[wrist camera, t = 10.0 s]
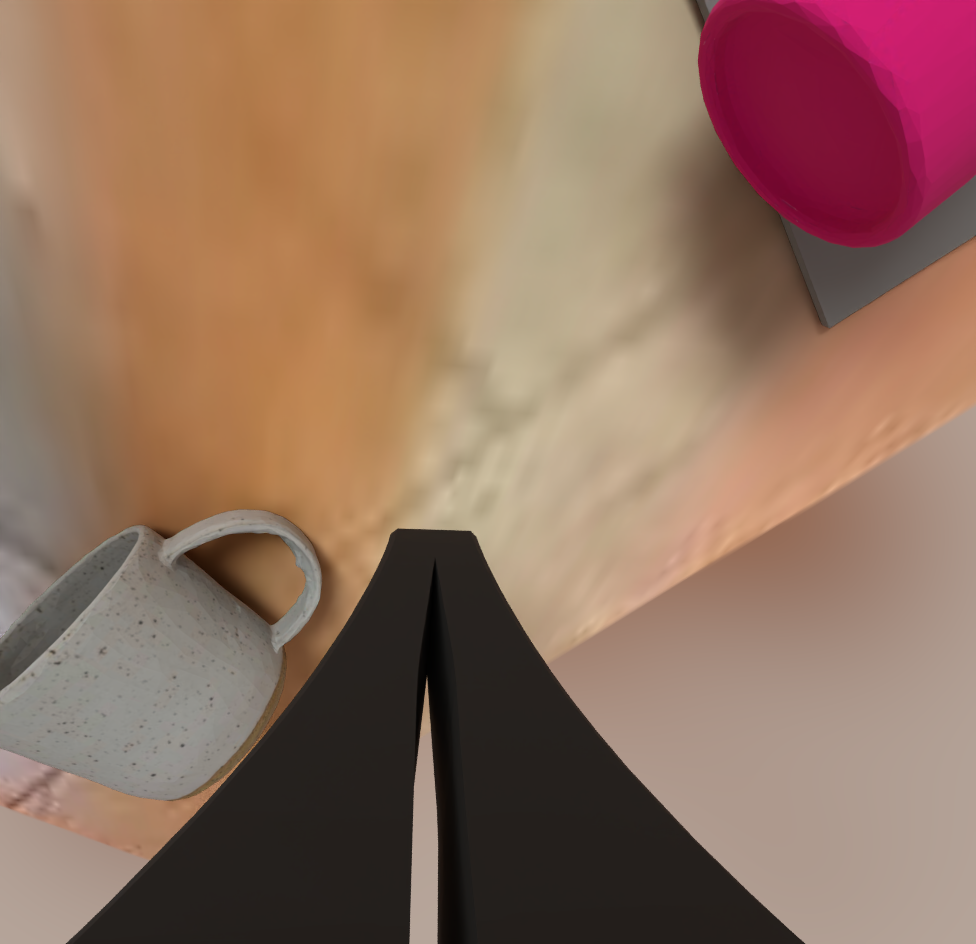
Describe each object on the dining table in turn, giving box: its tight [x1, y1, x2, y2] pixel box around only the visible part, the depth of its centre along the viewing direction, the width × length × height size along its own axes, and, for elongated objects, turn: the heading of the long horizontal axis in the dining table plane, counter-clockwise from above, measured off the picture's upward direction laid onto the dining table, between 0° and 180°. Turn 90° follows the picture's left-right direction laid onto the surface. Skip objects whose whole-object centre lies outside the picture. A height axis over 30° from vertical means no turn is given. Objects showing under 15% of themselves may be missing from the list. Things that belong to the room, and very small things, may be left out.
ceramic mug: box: [0, 509, 322, 801], centre depth 19 cm, size 10×8×7 cm
